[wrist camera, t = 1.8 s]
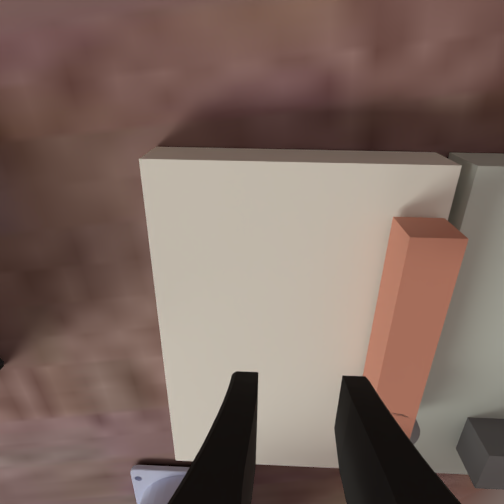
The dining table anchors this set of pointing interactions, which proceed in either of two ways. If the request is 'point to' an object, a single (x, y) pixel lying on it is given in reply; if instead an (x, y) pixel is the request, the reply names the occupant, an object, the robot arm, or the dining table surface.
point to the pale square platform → (320, 292)
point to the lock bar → (412, 312)
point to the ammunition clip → (1, 363)
